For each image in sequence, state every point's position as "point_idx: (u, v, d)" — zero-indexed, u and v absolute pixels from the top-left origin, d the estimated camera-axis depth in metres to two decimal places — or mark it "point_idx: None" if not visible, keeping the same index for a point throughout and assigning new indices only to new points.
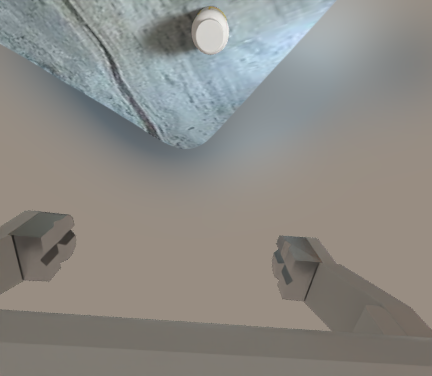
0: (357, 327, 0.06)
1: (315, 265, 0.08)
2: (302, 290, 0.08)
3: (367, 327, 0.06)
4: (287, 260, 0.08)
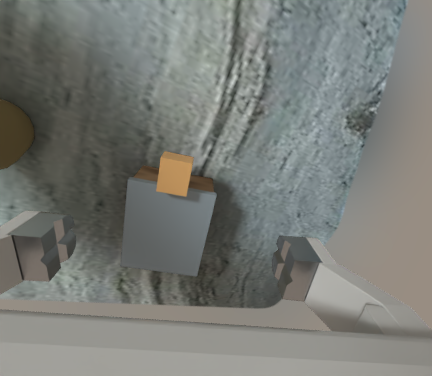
0: (357, 327, 0.06)
1: (315, 265, 0.08)
2: (302, 290, 0.08)
3: (367, 327, 0.06)
4: (287, 260, 0.08)
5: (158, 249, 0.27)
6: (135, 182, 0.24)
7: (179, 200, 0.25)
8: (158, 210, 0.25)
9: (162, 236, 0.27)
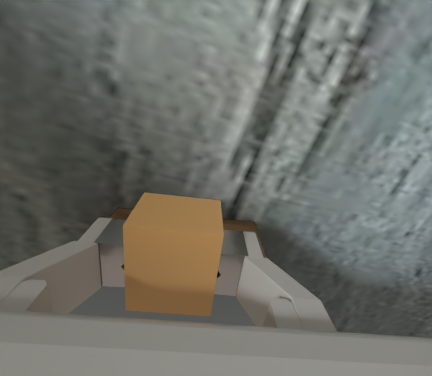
0: (265, 321, 0.06)
1: (243, 258, 0.08)
2: (232, 284, 0.08)
3: (270, 320, 0.06)
4: None
5: None
6: None
7: None
8: None
9: None
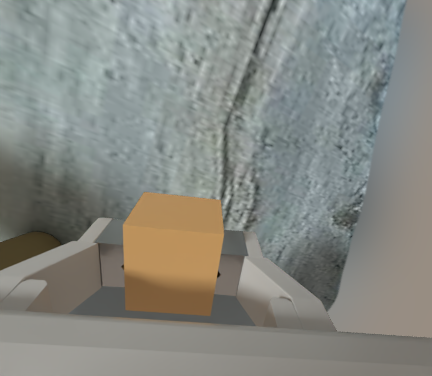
0: (265, 321, 0.06)
1: (243, 258, 0.08)
2: (232, 284, 0.08)
3: (270, 320, 0.06)
4: None
5: None
6: None
7: None
8: None
9: None
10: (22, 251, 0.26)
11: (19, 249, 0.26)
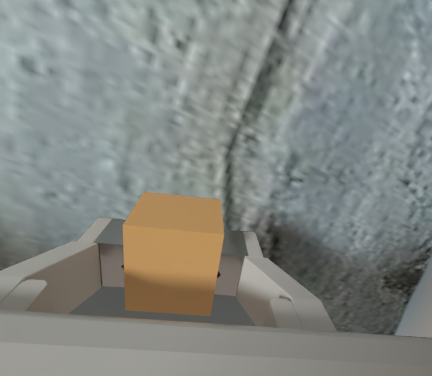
0: (265, 321, 0.06)
1: (243, 258, 0.08)
2: (232, 284, 0.08)
3: (270, 320, 0.06)
4: None
5: None
6: None
7: None
8: None
9: None
10: None
11: None
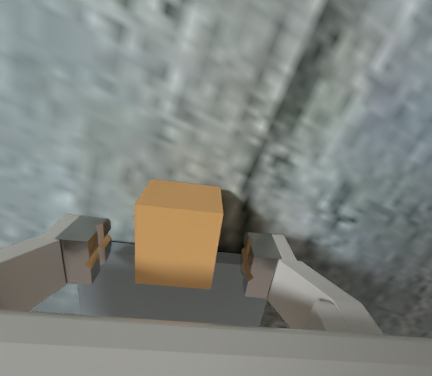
0: (307, 324, 0.06)
1: (276, 261, 0.08)
2: (264, 287, 0.08)
3: (314, 323, 0.06)
4: (249, 257, 0.08)
5: None
6: None
7: None
8: (151, 303, 0.12)
9: None
10: None
11: None
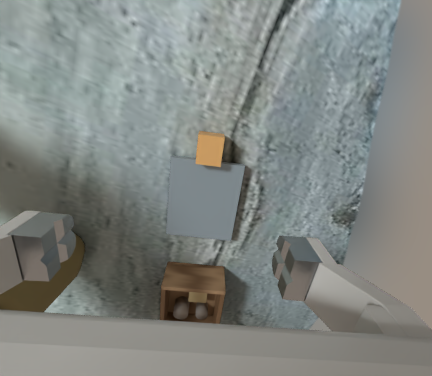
0: (357, 327, 0.06)
1: (315, 265, 0.08)
2: (302, 290, 0.08)
3: (367, 327, 0.06)
4: (287, 260, 0.08)
5: (197, 217, 0.32)
6: (176, 158, 0.29)
7: (213, 172, 0.29)
8: (196, 182, 0.30)
9: (200, 205, 0.31)
10: None
11: None
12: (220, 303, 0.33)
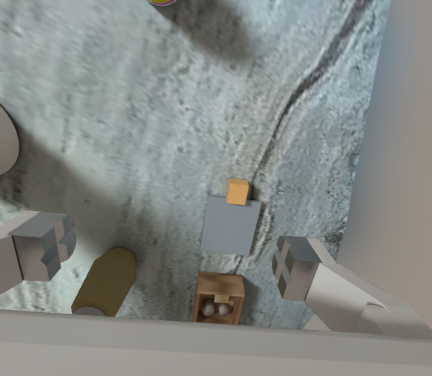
0: (357, 327, 0.06)
1: (315, 265, 0.08)
2: (302, 290, 0.08)
3: (367, 327, 0.06)
4: (287, 260, 0.08)
5: (224, 238, 0.43)
6: (212, 197, 0.39)
7: (238, 207, 0.40)
8: (225, 214, 0.41)
9: (227, 230, 0.42)
10: (118, 262, 0.40)
11: (116, 261, 0.40)
12: (240, 303, 0.44)
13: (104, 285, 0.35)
